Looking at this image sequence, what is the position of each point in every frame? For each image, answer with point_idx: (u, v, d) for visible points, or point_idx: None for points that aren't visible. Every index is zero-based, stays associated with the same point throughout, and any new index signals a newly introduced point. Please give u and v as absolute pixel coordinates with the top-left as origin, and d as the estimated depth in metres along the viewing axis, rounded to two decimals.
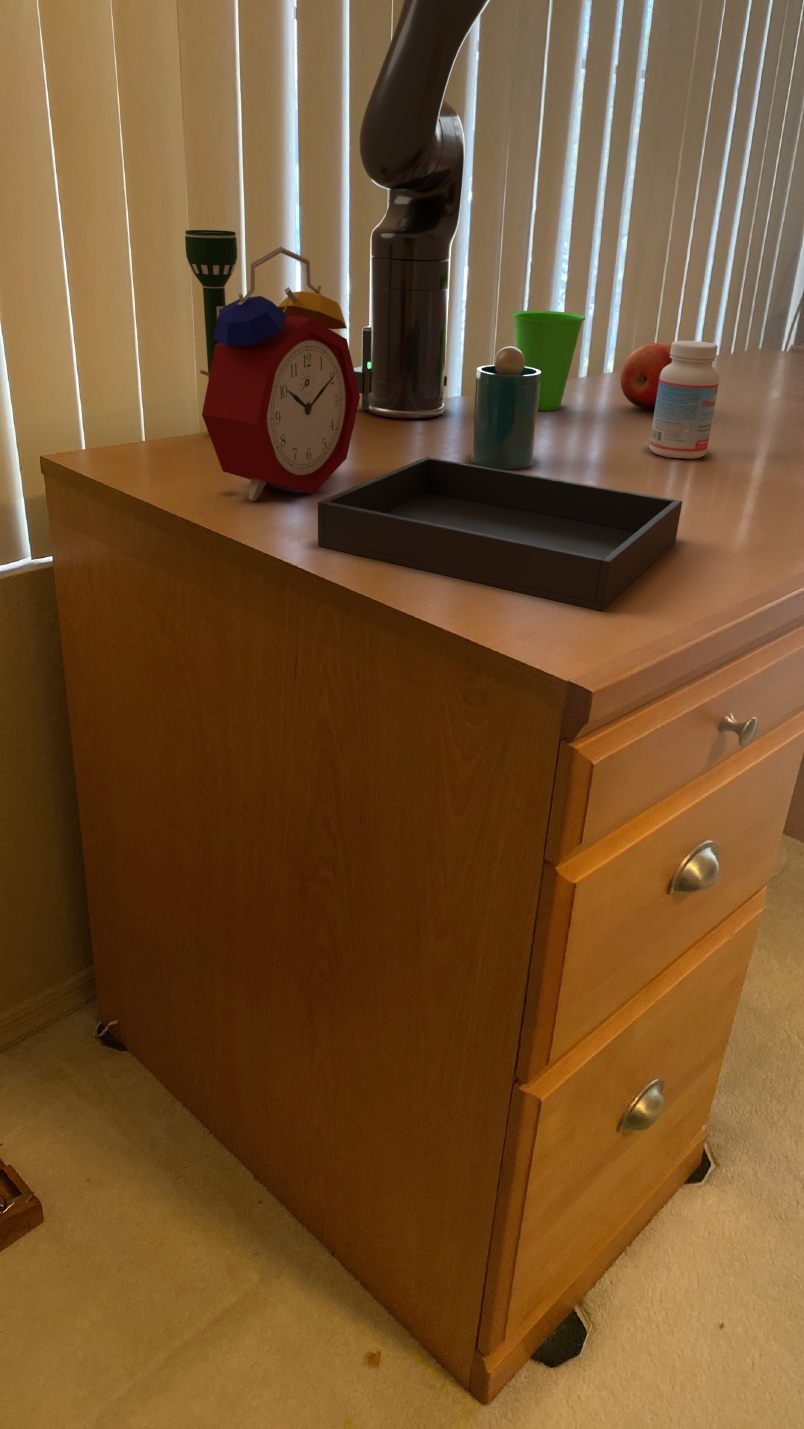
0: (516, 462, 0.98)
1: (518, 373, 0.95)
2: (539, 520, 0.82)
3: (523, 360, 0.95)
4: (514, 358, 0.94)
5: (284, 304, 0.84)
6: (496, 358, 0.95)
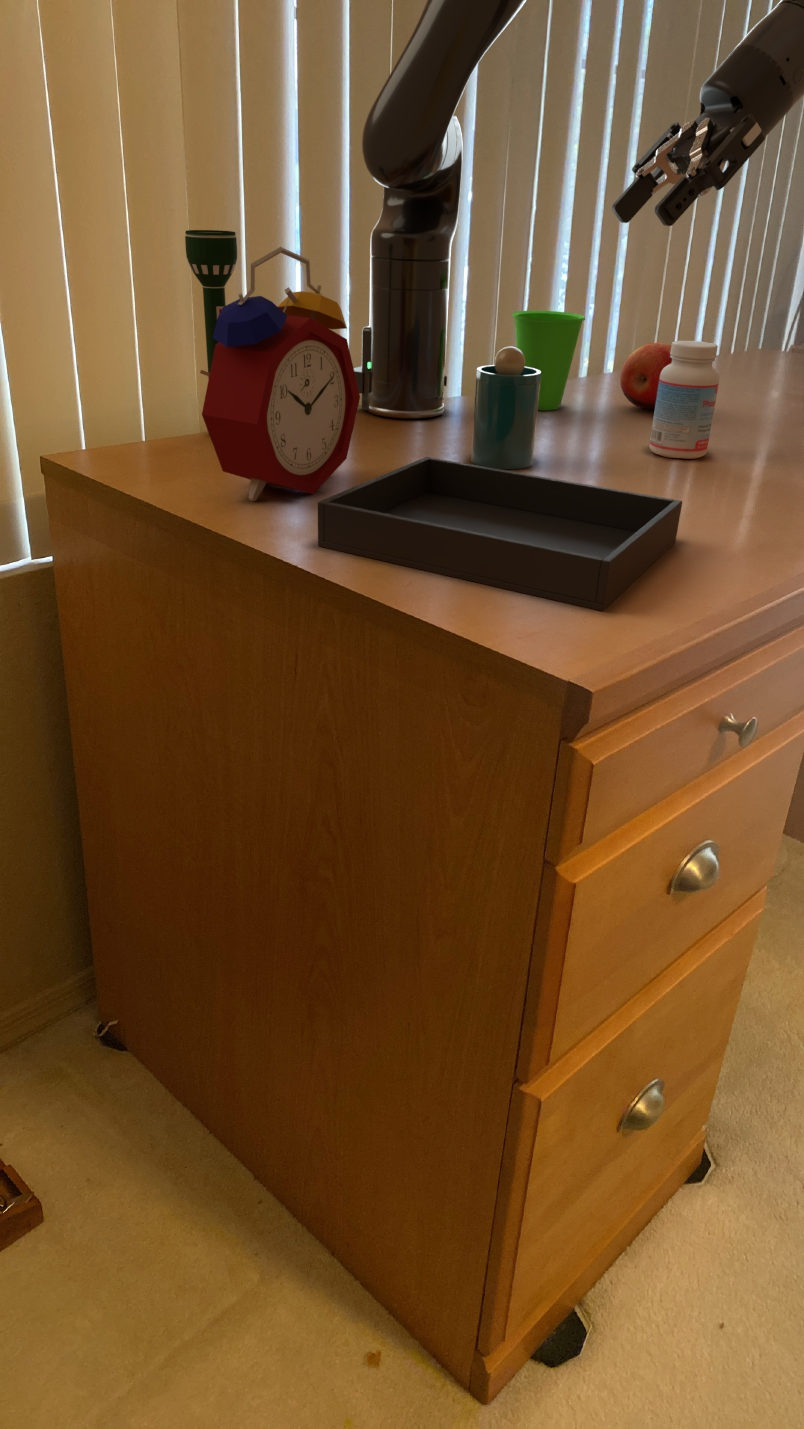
0: (516, 462, 0.98)
1: (518, 373, 0.95)
2: (539, 520, 0.82)
3: (523, 360, 0.95)
4: (514, 358, 0.94)
5: (284, 304, 0.84)
6: (496, 358, 0.95)
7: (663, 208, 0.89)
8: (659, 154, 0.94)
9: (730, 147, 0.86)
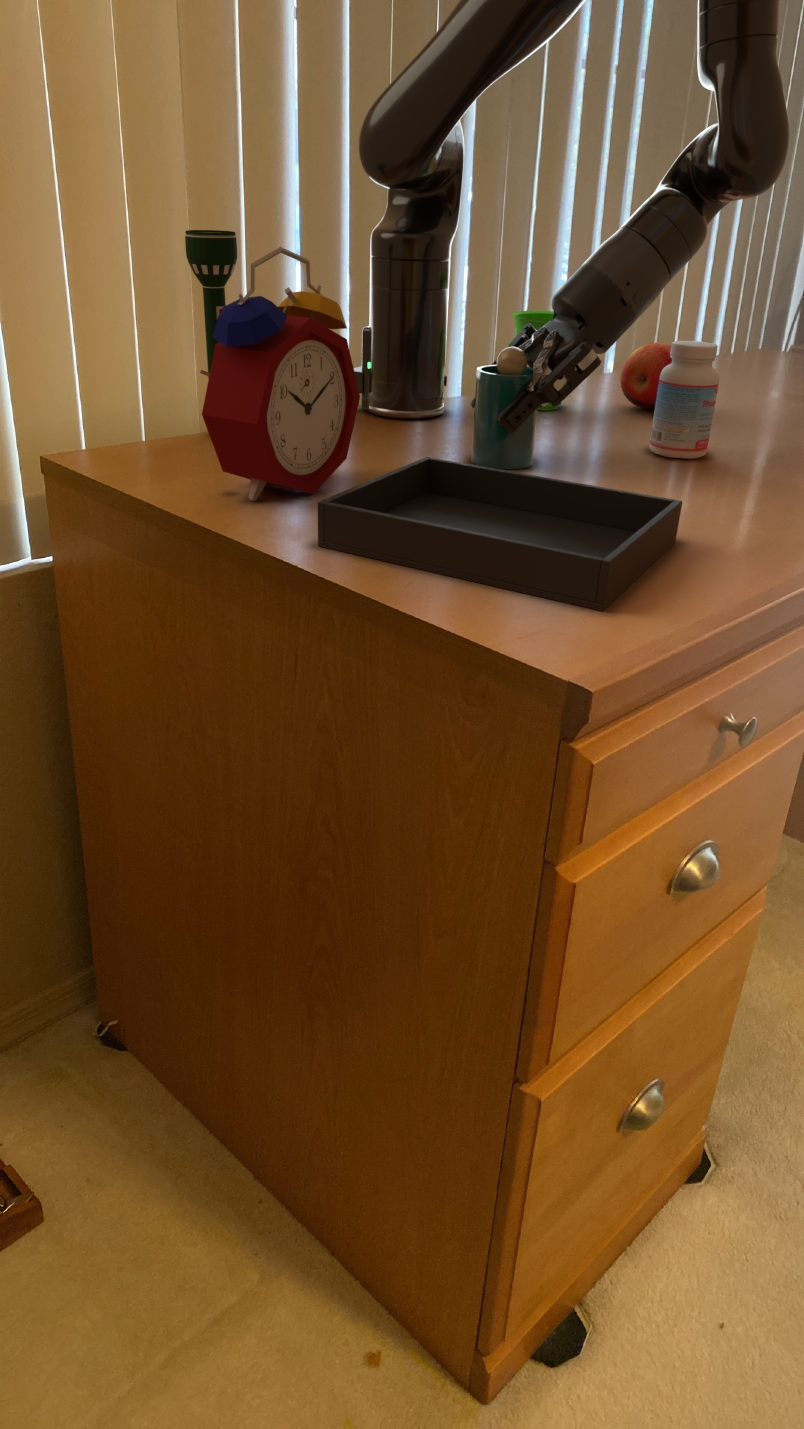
0: (516, 462, 0.98)
1: None
2: (539, 520, 0.82)
3: (525, 363, 0.95)
4: (517, 360, 0.94)
5: (284, 304, 0.84)
6: (499, 357, 0.95)
7: (504, 418, 0.94)
8: None
9: (564, 372, 0.91)
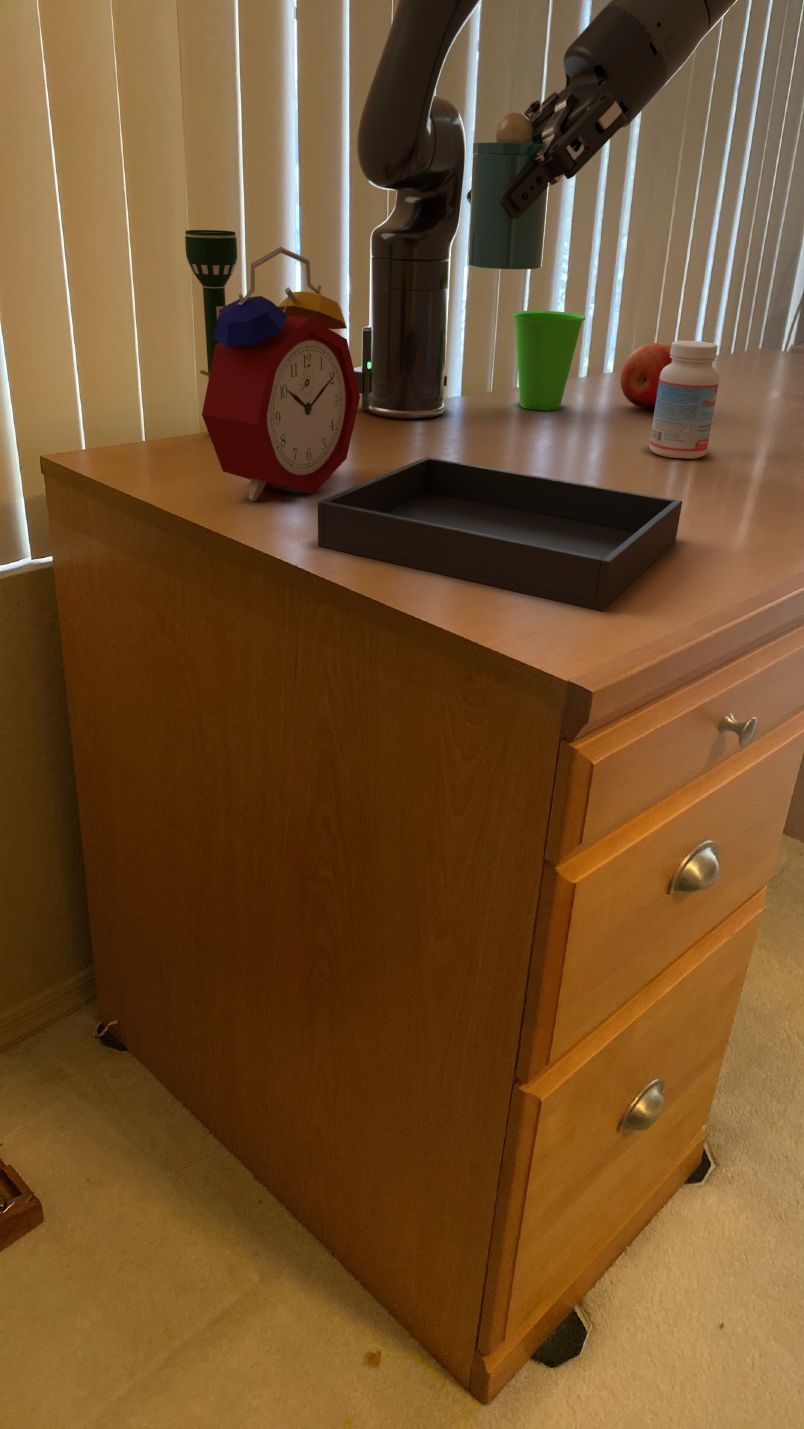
0: (522, 259, 0.80)
1: None
2: (539, 520, 0.82)
3: (527, 129, 0.77)
4: (512, 127, 0.77)
5: (284, 304, 0.84)
6: None
7: (508, 198, 0.77)
8: None
9: (582, 130, 0.74)
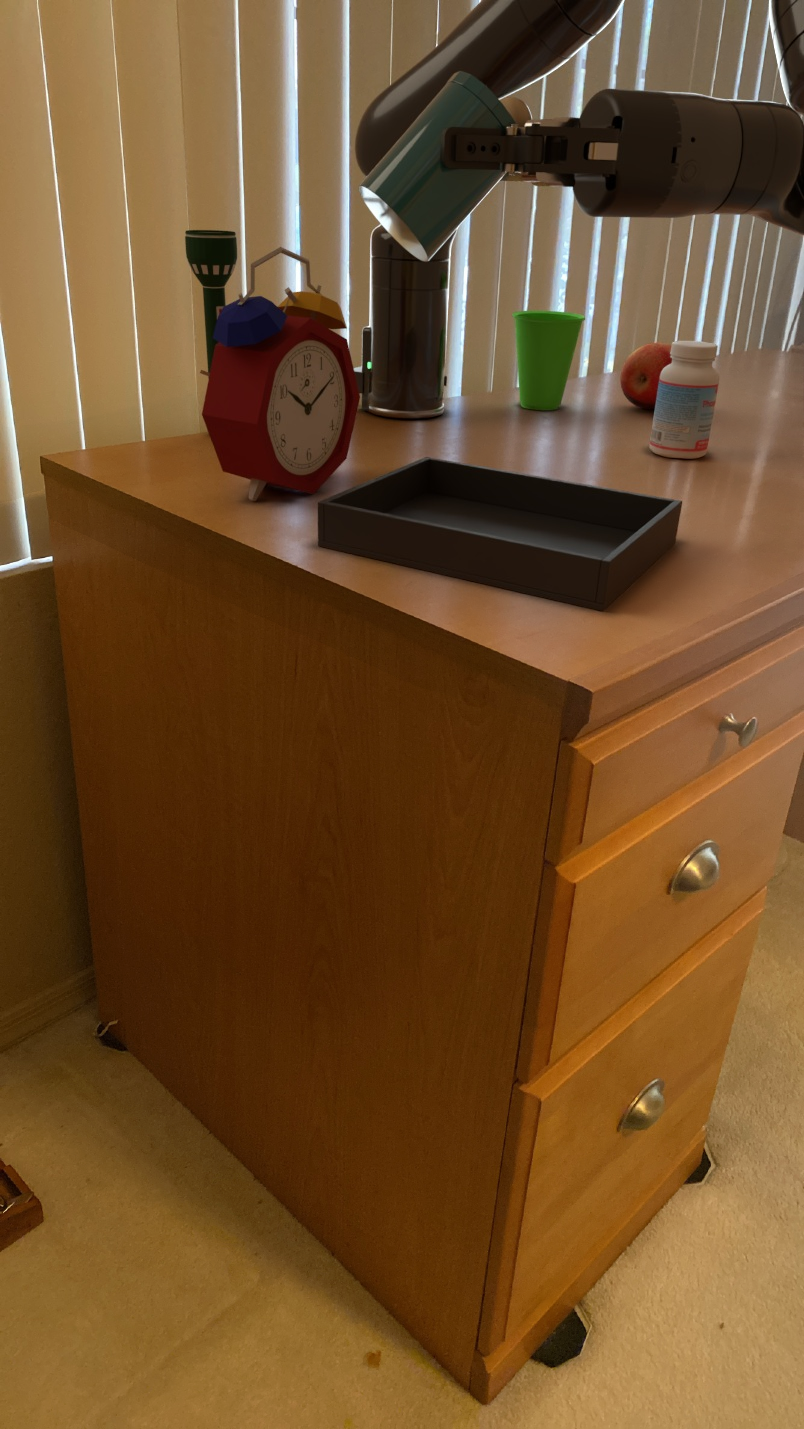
0: (418, 220, 0.61)
1: None
2: (539, 520, 0.82)
3: (519, 113, 0.62)
4: (517, 98, 0.62)
5: (284, 304, 0.84)
6: None
7: (453, 135, 0.59)
8: None
9: (571, 135, 0.59)
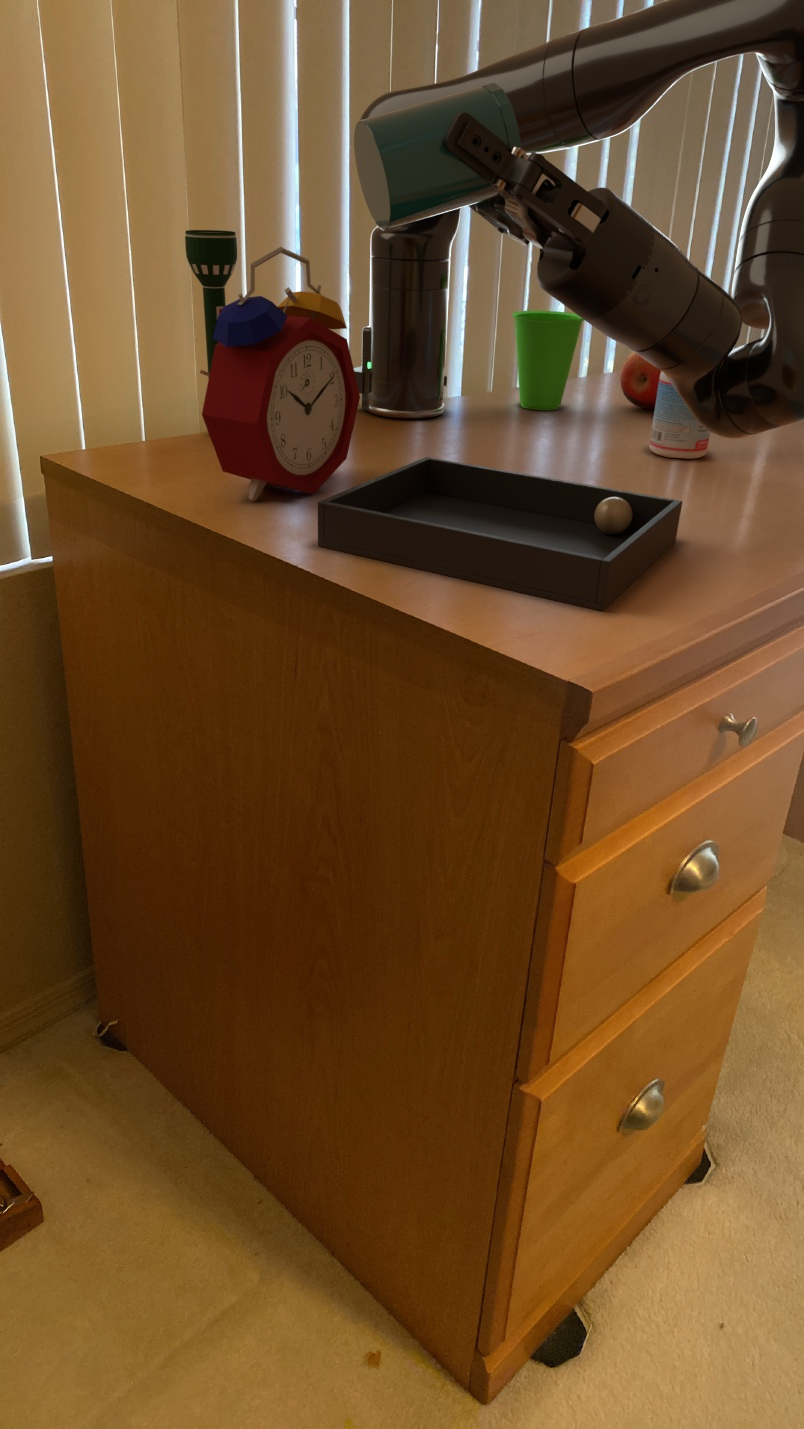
0: (397, 177, 0.60)
1: (628, 526, 0.78)
2: (539, 520, 0.82)
3: (614, 534, 0.79)
4: None
5: (284, 304, 0.84)
6: None
7: (466, 121, 0.59)
8: None
9: (566, 184, 0.60)
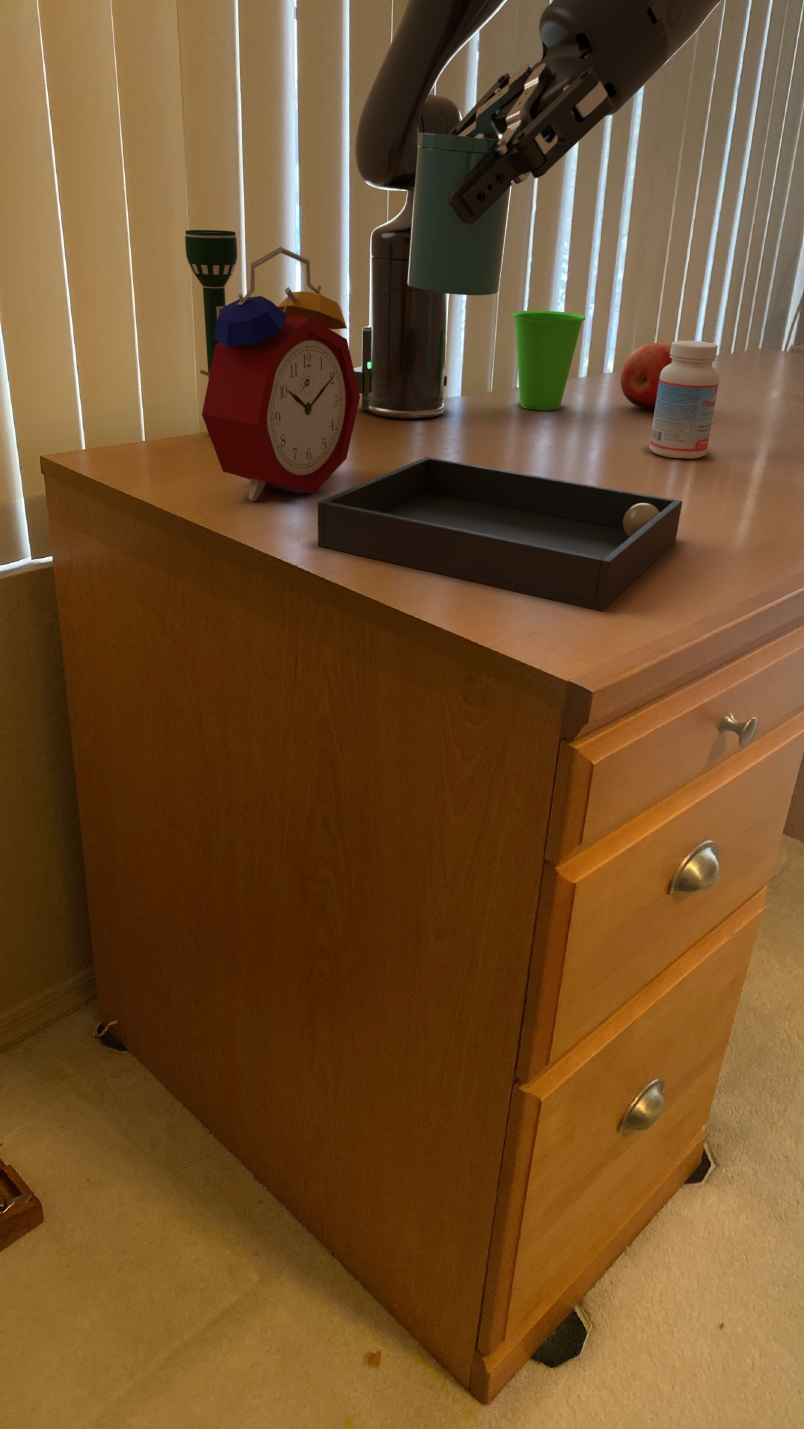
0: (473, 283, 0.65)
1: None
2: (539, 520, 0.82)
3: None
4: None
5: (284, 304, 0.84)
6: None
7: (459, 198, 0.61)
8: (480, 115, 0.65)
9: (555, 117, 0.58)
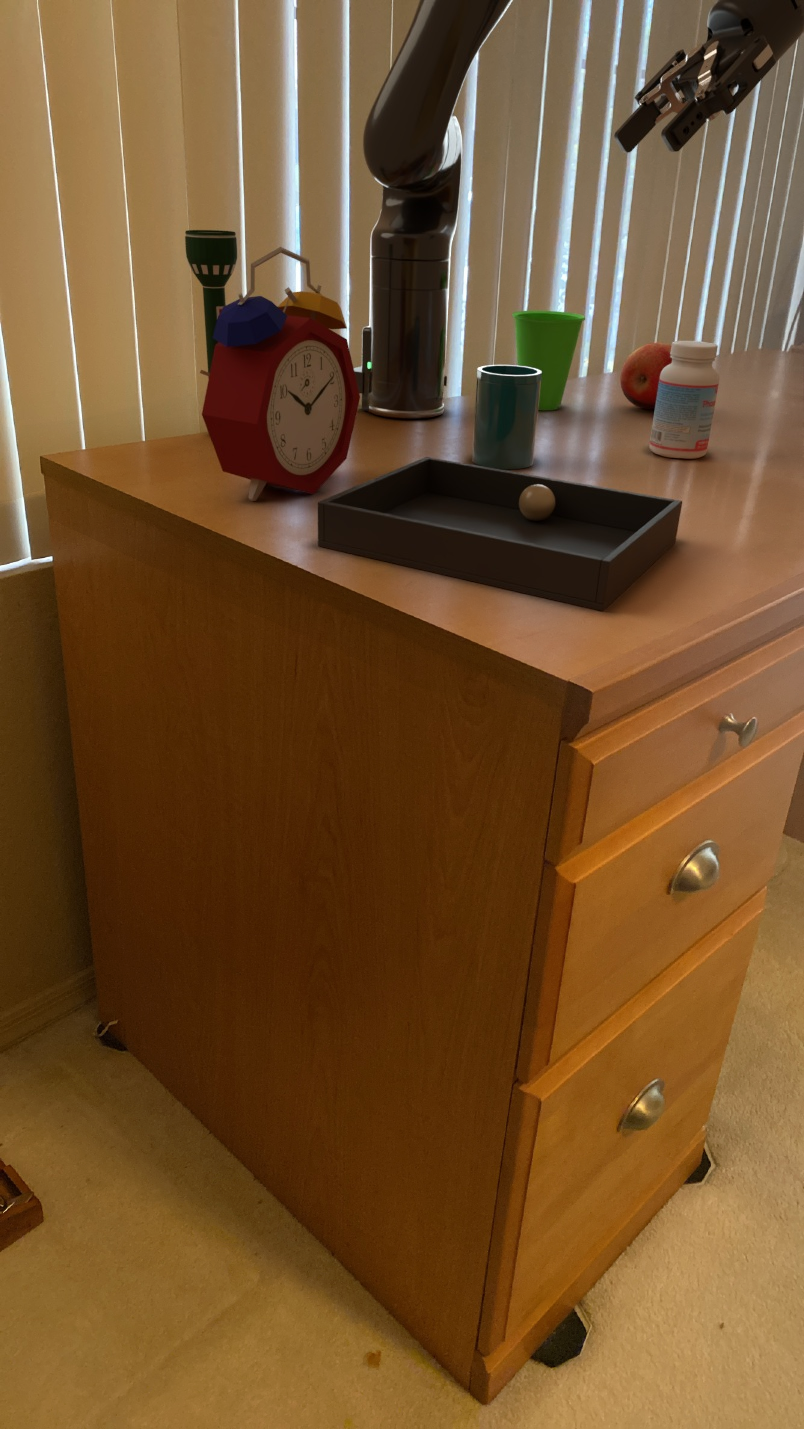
0: (516, 462, 0.98)
1: None
2: None
3: None
4: None
5: (284, 304, 0.84)
6: None
7: (670, 132, 0.86)
8: (664, 80, 0.91)
9: (741, 68, 0.83)
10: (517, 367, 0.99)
